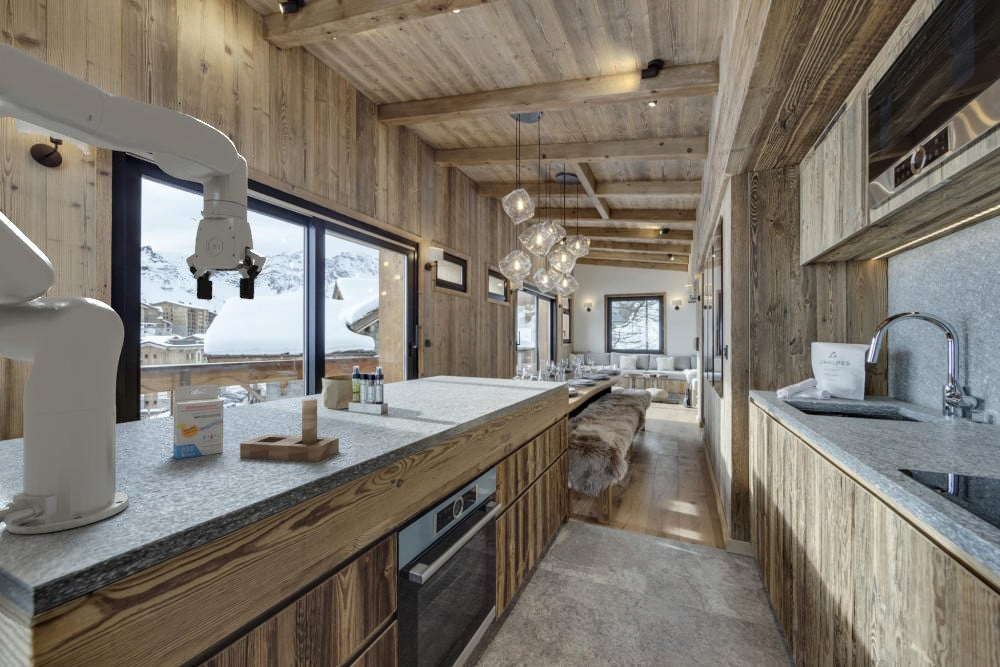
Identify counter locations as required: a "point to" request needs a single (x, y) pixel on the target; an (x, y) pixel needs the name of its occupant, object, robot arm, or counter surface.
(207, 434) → the ink box
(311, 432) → the peg
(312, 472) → the counter surface
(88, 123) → the robot arm
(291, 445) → the socket block
